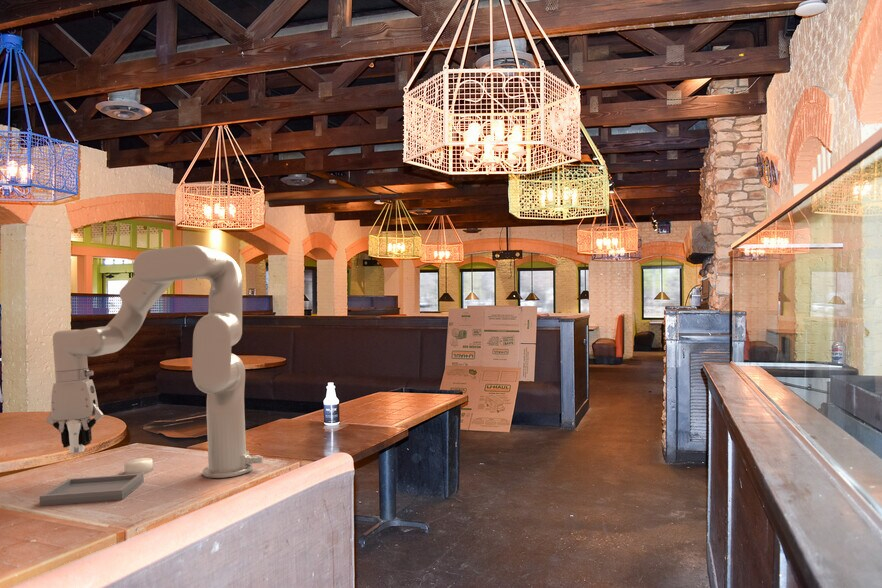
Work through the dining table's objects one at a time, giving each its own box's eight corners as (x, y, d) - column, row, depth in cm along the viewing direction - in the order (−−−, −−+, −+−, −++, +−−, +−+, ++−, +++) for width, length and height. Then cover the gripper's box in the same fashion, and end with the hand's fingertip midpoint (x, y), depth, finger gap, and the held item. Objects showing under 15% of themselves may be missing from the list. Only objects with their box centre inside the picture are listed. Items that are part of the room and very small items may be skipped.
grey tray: (143, 481, 158) (143, 473, 158) (122, 499, 144) (122, 490, 144) (68, 487, 156) (68, 478, 156) (39, 505, 142) (39, 496, 142)
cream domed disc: (156, 467, 172) (156, 457, 172) (147, 474, 165) (147, 463, 165) (130, 469, 172) (129, 458, 172) (120, 476, 165) (119, 465, 165)
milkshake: (80, 454, 161) (78, 415, 161) (62, 454, 162) (61, 416, 162) (93, 449, 165) (92, 412, 165) (76, 449, 167) (74, 412, 167)
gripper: (111, 372, 168) (116, 439, 168) (45, 377, 166) (50, 445, 166) (99, 375, 161) (104, 445, 161) (30, 381, 159) (35, 452, 159)
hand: (77, 444), depth 164 cm, fingers closed on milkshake, 4 cm apart
